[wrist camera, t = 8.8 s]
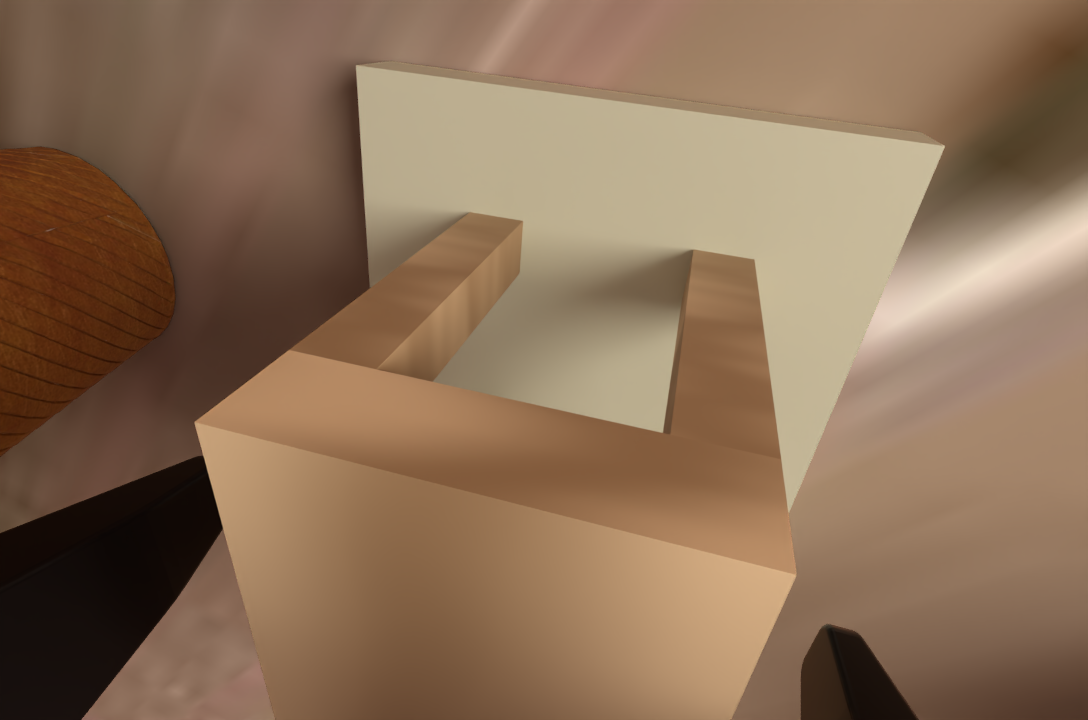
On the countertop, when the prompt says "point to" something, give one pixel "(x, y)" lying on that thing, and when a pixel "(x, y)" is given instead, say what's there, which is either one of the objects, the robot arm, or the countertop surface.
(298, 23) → the countertop surface
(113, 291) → the disposable coffee cup
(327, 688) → the maple stool
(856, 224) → the sage board
